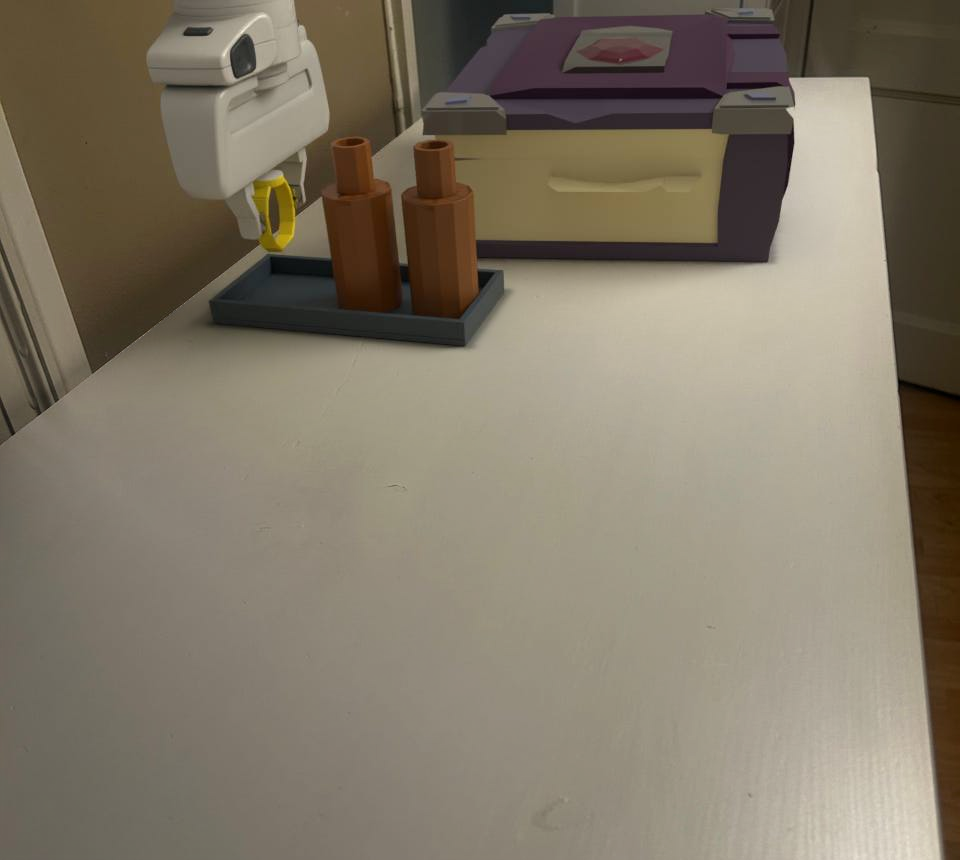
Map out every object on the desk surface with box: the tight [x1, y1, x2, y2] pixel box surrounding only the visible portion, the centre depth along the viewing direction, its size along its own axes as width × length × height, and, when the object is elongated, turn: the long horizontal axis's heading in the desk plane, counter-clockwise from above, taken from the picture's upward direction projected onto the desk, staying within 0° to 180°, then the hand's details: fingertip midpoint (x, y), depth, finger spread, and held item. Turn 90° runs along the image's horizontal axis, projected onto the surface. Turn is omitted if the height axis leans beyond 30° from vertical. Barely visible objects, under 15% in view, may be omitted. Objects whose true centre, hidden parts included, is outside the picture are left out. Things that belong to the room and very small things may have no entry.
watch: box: [251, 168, 296, 253], centre depth 83 cm, size 6×3×6 cm, turn 168°
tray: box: [208, 253, 505, 347], centre depth 86 cm, size 23×11×2 cm, turn 72°
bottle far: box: [400, 139, 479, 319], centre depth 80 cm, size 6×6×14 cm
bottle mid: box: [320, 136, 403, 313], centre depth 81 cm, size 6×6×14 cm
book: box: [420, 7, 796, 263], centre depth 103 cm, size 33×45×14 cm
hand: (274, 221), depth 83 cm, fingers closed on watch, 6 cm apart
